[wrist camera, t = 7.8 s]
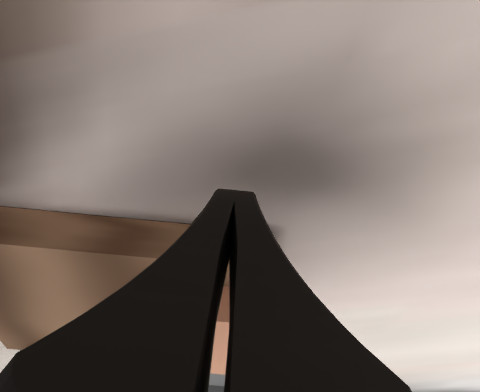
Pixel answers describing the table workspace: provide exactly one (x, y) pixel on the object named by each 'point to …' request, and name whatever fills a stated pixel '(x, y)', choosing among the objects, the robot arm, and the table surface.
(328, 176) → the table surface
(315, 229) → the table surface
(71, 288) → the walnut board
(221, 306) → the terracotta tile
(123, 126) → the table surface
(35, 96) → the table surface
